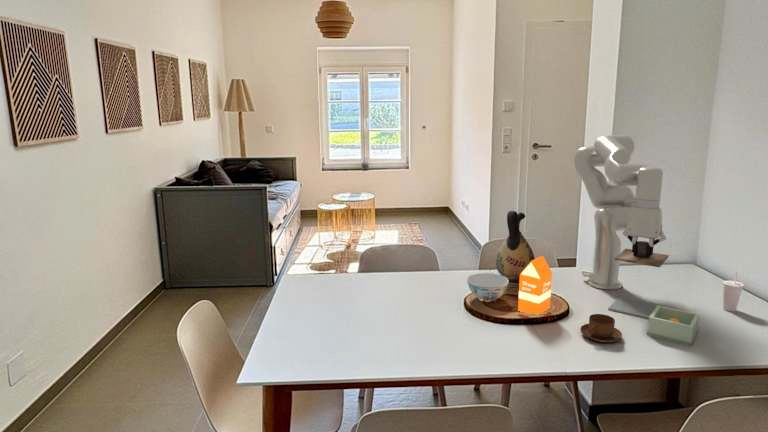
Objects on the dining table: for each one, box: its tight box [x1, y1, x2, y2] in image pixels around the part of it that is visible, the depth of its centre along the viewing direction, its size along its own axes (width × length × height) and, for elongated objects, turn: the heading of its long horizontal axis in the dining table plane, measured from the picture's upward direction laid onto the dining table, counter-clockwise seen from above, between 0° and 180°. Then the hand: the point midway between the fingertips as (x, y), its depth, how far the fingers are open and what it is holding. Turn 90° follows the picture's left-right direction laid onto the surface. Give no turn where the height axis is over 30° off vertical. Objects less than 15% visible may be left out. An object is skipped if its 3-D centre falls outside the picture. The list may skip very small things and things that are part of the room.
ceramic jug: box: [495, 210, 536, 286], centre depth 208 cm, size 17×15×30 cm
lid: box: [615, 240, 670, 268], centre depth 180 cm, size 14×14×6 cm
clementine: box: [668, 318, 680, 323], centre depth 164 cm, size 4×4×4 cm
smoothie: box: [721, 270, 745, 313], centre depth 181 cm, size 6×6×14 cm
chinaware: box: [466, 272, 509, 300], centre depth 193 cm, size 15×15×8 cm
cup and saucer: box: [579, 313, 623, 343], centre depth 162 cm, size 12×12×6 cm
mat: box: [607, 295, 666, 320], centre depth 184 cm, size 15×15×1 cm
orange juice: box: [517, 255, 553, 315], centre depth 179 cm, size 8×9×20 cm
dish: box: [646, 305, 701, 347], centre depth 164 cm, size 12×12×6 cm
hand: (642, 255), depth 180 cm, fingers closed on lid, 3 cm apart
